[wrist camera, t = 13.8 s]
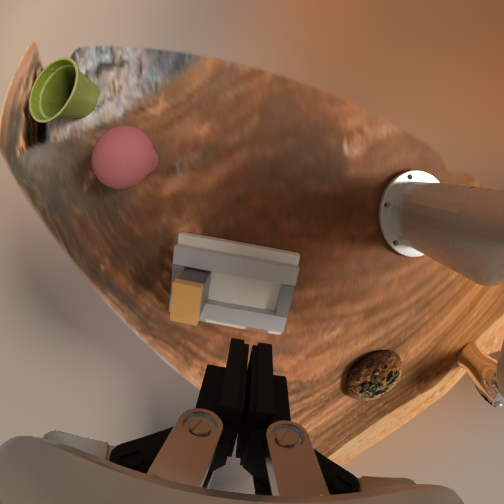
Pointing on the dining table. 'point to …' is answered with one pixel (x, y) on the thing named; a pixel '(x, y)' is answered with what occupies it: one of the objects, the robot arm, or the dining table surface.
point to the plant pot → (62, 92)
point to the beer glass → (481, 372)
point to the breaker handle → (190, 295)
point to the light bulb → (123, 157)
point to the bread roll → (374, 375)
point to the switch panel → (240, 281)
